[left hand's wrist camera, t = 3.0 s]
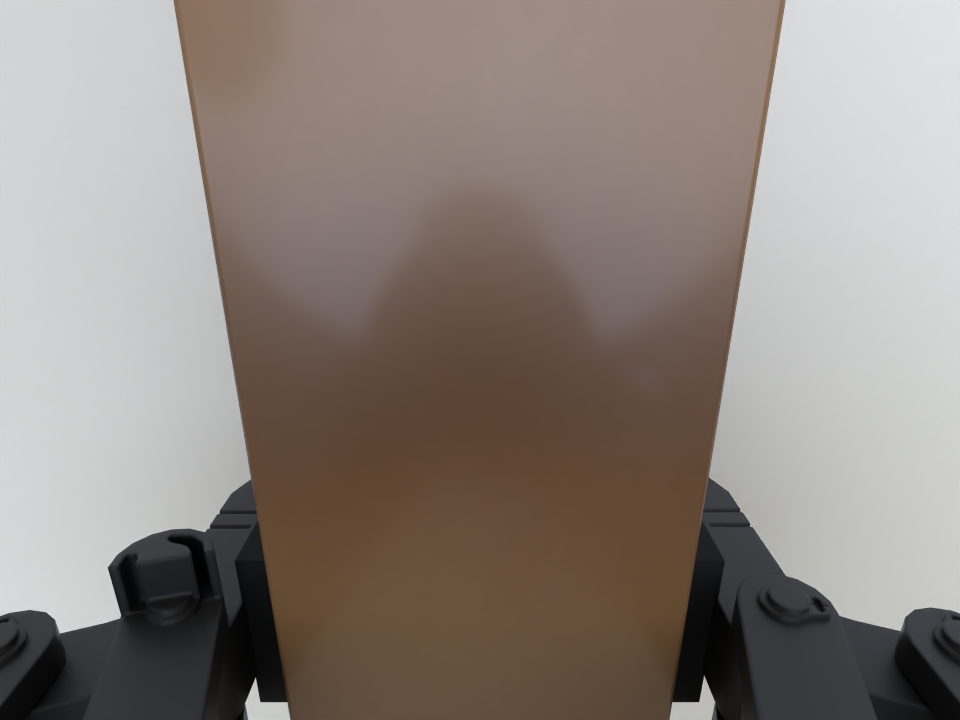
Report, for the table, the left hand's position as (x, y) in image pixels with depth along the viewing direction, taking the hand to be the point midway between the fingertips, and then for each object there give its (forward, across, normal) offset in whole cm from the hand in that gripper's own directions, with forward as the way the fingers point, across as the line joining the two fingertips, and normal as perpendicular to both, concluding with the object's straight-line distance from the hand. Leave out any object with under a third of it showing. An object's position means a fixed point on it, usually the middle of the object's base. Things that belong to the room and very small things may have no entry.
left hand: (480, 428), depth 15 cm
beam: (0, 0, -21) cm, 21 cm away
